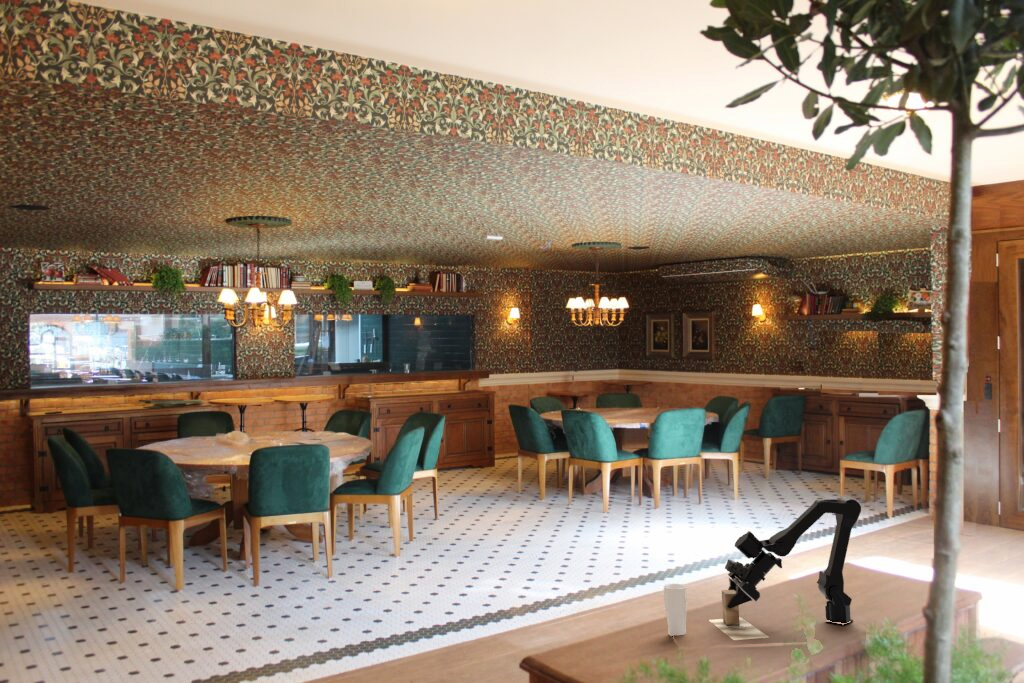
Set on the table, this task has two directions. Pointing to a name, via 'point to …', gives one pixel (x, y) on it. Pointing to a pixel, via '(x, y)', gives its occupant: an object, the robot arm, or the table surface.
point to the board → (739, 630)
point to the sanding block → (729, 614)
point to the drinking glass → (675, 608)
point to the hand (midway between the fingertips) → (725, 604)
